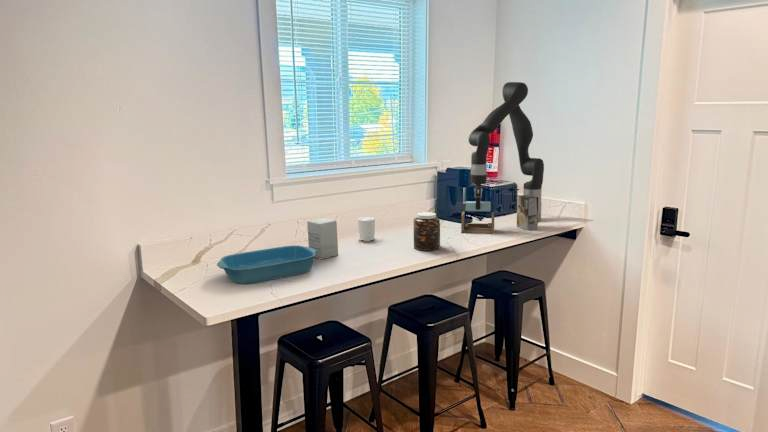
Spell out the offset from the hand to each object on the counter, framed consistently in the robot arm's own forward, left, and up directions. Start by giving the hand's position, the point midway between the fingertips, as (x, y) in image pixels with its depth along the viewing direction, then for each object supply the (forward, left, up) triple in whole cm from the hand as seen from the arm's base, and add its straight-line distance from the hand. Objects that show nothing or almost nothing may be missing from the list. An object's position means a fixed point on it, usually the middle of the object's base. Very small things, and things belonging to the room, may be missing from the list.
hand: (478, 208), depth 253 cm
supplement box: (+78, -22, -12) cm, 82 cm away
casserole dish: (+107, -18, -12) cm, 109 cm away
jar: (+40, +2, -12) cm, 42 cm away
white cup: (+47, -29, -12) cm, 56 cm away
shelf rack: (0, 0, -12) cm, 12 cm away
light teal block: (0, 0, -1) cm, 1 cm away
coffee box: (-22, +14, -12) cm, 29 cm away
